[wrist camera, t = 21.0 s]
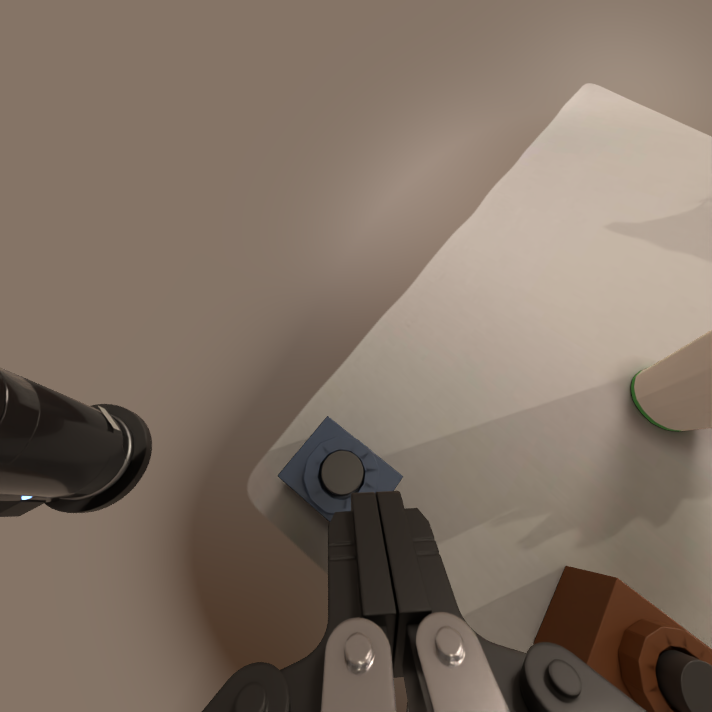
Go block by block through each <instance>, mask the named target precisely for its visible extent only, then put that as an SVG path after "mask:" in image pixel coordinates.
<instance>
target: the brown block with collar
mask: <svg viewBox="0 0 712 712" xmlns="http://www.w3.org/2000/svg"><path fill="white" fill-rule="evenodd" d="M540 642H550V643H554V644H557V645H560V646H562V647H564V648H566V649H567V650H569V651H570V652H572V653H573V654H575V655H576V656H577V657H578V658H580V659H581V660H582V661H584V662H585V663H586V664H587V665H589V666H590V667H591V668H592V669H594V670H595V671H596V672H598V673H599V674H600V675H601V676H603V677H604V678H605V679H607V680H608V681H609V682H610V683H612V684H613V685H614V686H615V687H617V688H618V689H619V690H621V691H622V692H623V693H624V694H626V695H627V696H628V697H629V698H631V699H632V700H633V701H635V702H636V703H637V704H638V705H640V706H641V707H642V708H644V709H645V710H646V711H647V712H681V711H679V710H677V709H676V708H674V707H673V706H672V705H671V704H670V703H669V702H668V701H667V699H666V698H665V697H664V695H663V694H662V692H661V690H660V688H659V685H658V682H657V678H656V664H657V660H658V658H659V656H660V655H661V654H662V653H663V652H665V651H667V650H677V651H679V652H682V653H685V654H687V655H689V656H692V657H694V658H697V659H699V660H702V661H704V662H707V663H709V664H710V665H712V649H711V648H710V647H708V646H707V645H706V644H704V643H703V642H702V641H700V640H699V639H698V638H696V637H695V636H694V635H692V634H691V633H690V632H688V631H687V630H686V629H684V628H683V627H682V626H680V625H679V624H678V623H676V622H675V621H674V620H672V619H671V618H670V617H668V616H667V615H666V614H664V613H663V612H662V611H661V610H659V609H658V608H657V607H655V606H654V605H653V604H651V603H650V602H649V601H647V600H646V599H645V598H643V597H642V596H641V595H639V594H638V593H637V592H635V591H634V590H633V589H631V588H630V587H629V586H627V585H626V584H625V583H623V582H622V581H621V580H619V579H618V578H616V577H611V576H607V575H603V574H599V573H594V572H590V571H586V570H582V569H577V568H573V567H569V566H566V567H565V569H564V572H563V574H562V576H561V579H560V581H559V584H558V586H557V588H556V591H555V593H554V596H553V598H552V600H551V603H550V605H549V608H548V610H547V612H546V615H545V617H544V620H543V622H542V624H541V627H540V629H539V632H538V634H537V636H536V639H535V641H534V644H536V643H540Z"/></svg>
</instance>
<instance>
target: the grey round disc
mask: <svg viewBox="0 0 712 712" xmlns="http://www.w3.org/2000/svg"><path fill="white" fill-rule="evenodd" d="M656 678H657V682H658V685H659V688H660V690H661V692H662V694H663V695H664V697H665V698H666V699H667V701H668V702H669V703H670V704H671V705H672V706H673V707H674V708H676V709H677V710H679V711H681V712H712V665H710V664H709V663H707V662H704V661H702V660H699V659H697V658H694V657H692V656H689V655H687V654H685V653H682V652H679V651H677V650H667V651H665V652H663V653H662V654H661V655H660V656H659V658H658V660H657V664H656Z"/></svg>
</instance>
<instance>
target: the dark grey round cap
mask: <svg viewBox="0 0 712 712" xmlns="http://www.w3.org/2000/svg"><path fill="white" fill-rule="evenodd" d="M321 475H322V480H323V483H324V485H325V487H326V488H327V489H328V490H329V491H330V492H331V493H333V494H335V495H339V496H343V495H348V494H350V493H352V492H353V491H355V490H356V489H357V488H358V487H359V485H360V484H361V482H362V479H363V466H362V463H361V461H360V460H359V458H358V457H357V456H356V455H355V454H353V453H351V452H349V451H336V452H334V453H332V454H331V455H329V456H328V457H327V458H326V460H325V461H324V463H323V466H322V471H321Z"/></svg>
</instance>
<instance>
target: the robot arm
mask: <svg viewBox="0 0 712 712" xmlns="http://www.w3.org/2000/svg"><path fill="white" fill-rule="evenodd" d="M98 407H99V408H100V409H101V411H100V410H97V409H95V408H93V407H91V406H88V405H86V404H84V403H81V402H79V401H77V400H74V399H72V398H70V397H67V396H65V395H63V394H61V393H58V392H56V391H53V390H51V389H49V388H47V387H44V386H42V385H40V384H37V383H35V382H33V381H30V380H28V379H26V378H23V377H21V376H19V375H16V374H14V373H11V372H9V371H7V370H5V369H2V368H0V517H8V516H21V515H22V514H25V513H26V512H28V511H30V510H32V509H34V508H36V507H38V506H40V505H41V504H43V503H45V502H57V501H59V500H61V499H68V500H81V499H87V498H91V497H94V496H96V495H99V494H101V493H103V492H104V491H106V490H107V489H109V488H110V487H112V486H113V485H114V484H115V483H116V482H117V481H118V480H119V479H120V478H121V477H122V476H123V474H124V473H125V472H126V470H127V468H128V467H129V465H130V463H131V460H132V457H133V453H134V437H133V433H132V431H131V429H130V428H129V426H128V425H127V424H126V423H125V422H124V421H123V420H121V419H120V418H118V417H116V416H113V415H111V414H108V412H107V411H106V410H105V409H104V408H102V407H100V406H98ZM394 677H404V681H405V687H406V693H407V699H408V702H407V712H647V711H646V710H645V709H644V708H642V707H641V706H640V705H638V704H637V703H636V702H635V701H633V700H632V699H631V698H629V697H628V696H627V695H626V694H624V693H623V692H622V691H621V690H619V689H618V688H617V687H615V686H614V685H613V684H612V683H610V682H609V681H608V680H607V679H605V678H604V677H603V676H601V675H600V674H599V673H598V672H596V671H595V670H594V669H592V668H591V667H590V666H589V665H587V664H586V663H585V662H584V661H582V660H581V659H580V658H578V657H577V656H576V655H575V654H573V653H572V652H570V651H569V650H567V649H566V648H564V647H562V646H560V645H557V644H554V643H550V642H540V643H536V644H534V645H533V646H531V647H530V648H529V650H528V651H527V653H523V652H520V651H517V650H514V649H510V648H507V647H504V646H500V645H497V644H494V643H492V642H489V641H488V640H486V639H484V638H482V637H481V636H480V635H478V634H477V633H476V632H475V631H474V630H472V628H471V627H470V626H469V625H468V624H467V623H466V621H465V620H464V618H463V617H462V615H461V613H460V611H459V608H458V606H457V603H456V600H455V597H454V594H453V591H452V588H451V585H450V582H449V579H448V577H447V574H446V571H445V568H444V565H443V562H442V559H441V556H440V555H439V550H438V547H437V544H436V542H435V541H434V536H433V533H432V530H431V527H430V524H429V521H428V520H427V519H426V518H425V517H424V515H423V514H422V513H421V512H420V511H419V510H418V508H411V509H404V505H403V502H402V498H401V494H400V492H399V491H383V492H376V493H375V492H361V493H351V511H344V512H335V513H334V515H333V517H332V519H331V521H330V524H329V526H328V624H327V629H326V632H325V635H324V637H323V639H322V640H321V642H320V643H319V645H318V646H317V648H316V649H315V650H314V651H313V652H312V653H310V654H309V655H308V656H307V657H305V658H303V659H302V660H300V661H298V662H296V663H294V664H292V665H290V666H288V667H286V668H284V669H281V670H279V669H277V668H276V667H275V666H273V665H271V664H269V663H263V662H257V663H252V664H249V665H247V666H245V667H243V668H241V669H240V670H238V671H237V672H236V673H234V674H233V675H232V676H231V677H230V678H229V679H228V681H227V682H226V683H225V684H224V685H223V687H222V688H221V689H220V690H219V691H218V693H217V694H216V695H215V696H214V698H213V699H212V700H211V701H210V702H209V704H208V705H207V706H206V707H205V708H204V710H203V711H202V712H396V703H395V691H394V679H393V678H394Z"/></svg>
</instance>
